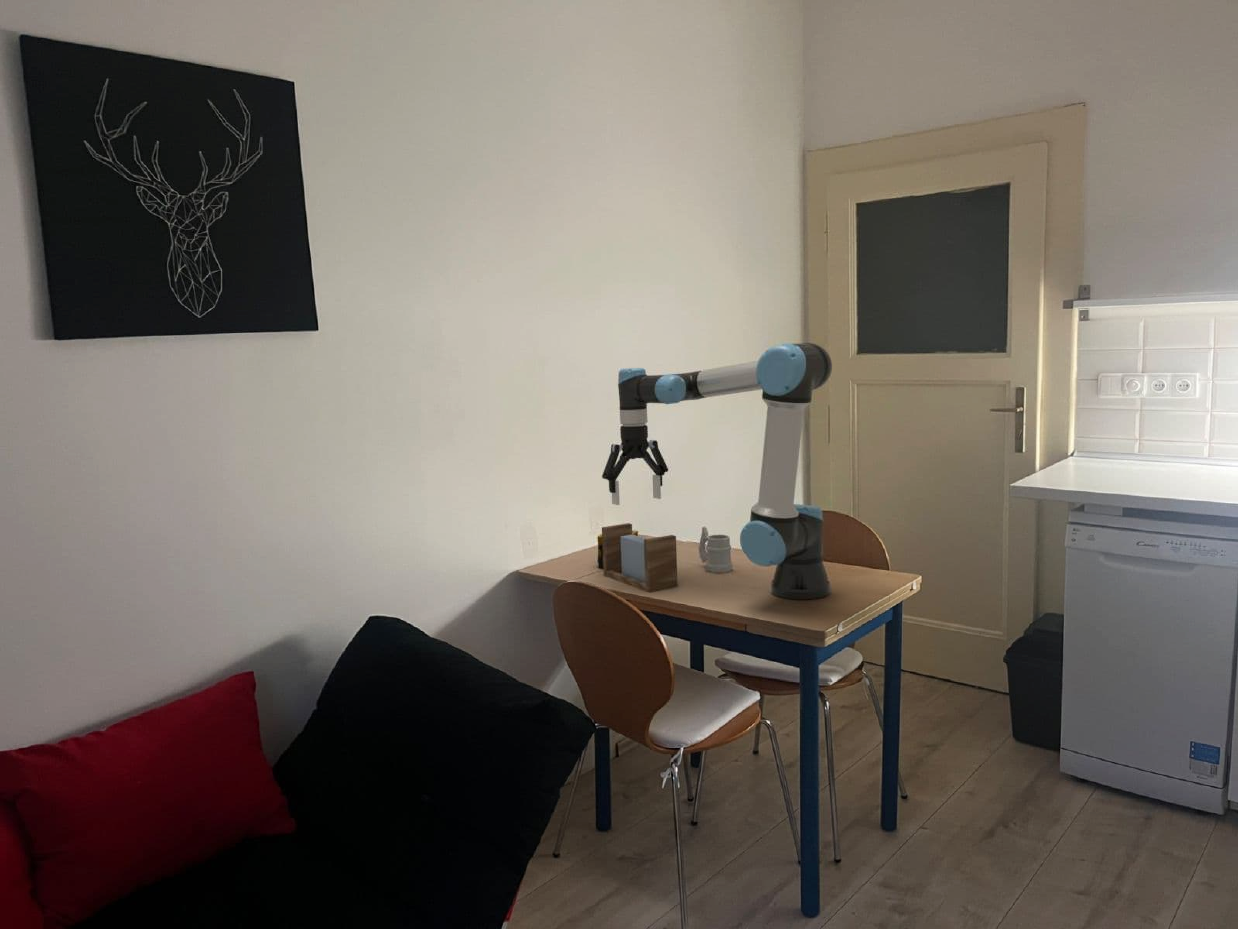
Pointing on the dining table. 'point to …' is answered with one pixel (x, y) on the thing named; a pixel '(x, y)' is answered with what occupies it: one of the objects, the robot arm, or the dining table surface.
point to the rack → (656, 559)
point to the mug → (715, 552)
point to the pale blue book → (633, 557)
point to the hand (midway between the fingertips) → (636, 501)
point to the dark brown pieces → (600, 549)
